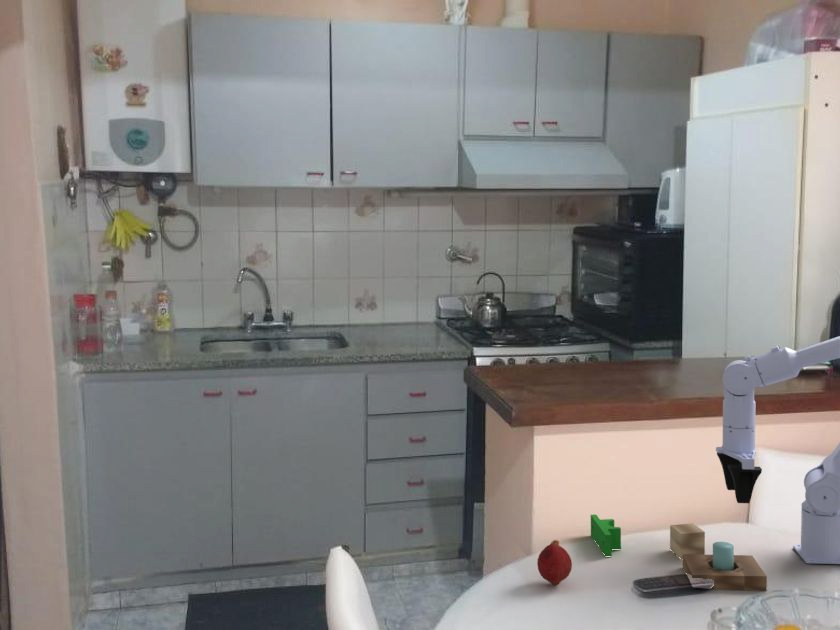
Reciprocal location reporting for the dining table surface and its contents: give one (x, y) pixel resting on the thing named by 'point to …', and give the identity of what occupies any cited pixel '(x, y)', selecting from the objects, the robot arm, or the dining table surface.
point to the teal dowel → (723, 556)
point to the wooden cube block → (687, 539)
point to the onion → (554, 563)
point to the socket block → (727, 572)
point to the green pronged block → (605, 534)
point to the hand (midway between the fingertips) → (738, 496)
